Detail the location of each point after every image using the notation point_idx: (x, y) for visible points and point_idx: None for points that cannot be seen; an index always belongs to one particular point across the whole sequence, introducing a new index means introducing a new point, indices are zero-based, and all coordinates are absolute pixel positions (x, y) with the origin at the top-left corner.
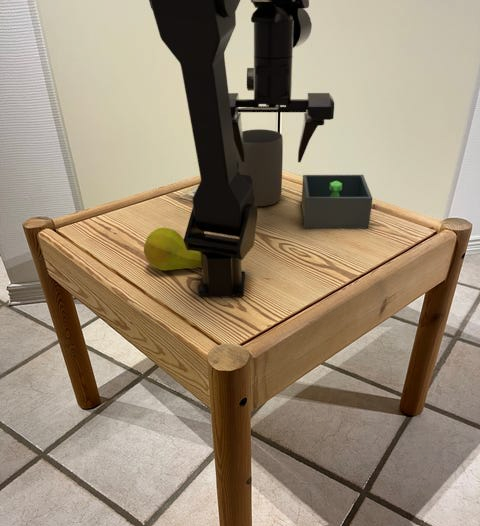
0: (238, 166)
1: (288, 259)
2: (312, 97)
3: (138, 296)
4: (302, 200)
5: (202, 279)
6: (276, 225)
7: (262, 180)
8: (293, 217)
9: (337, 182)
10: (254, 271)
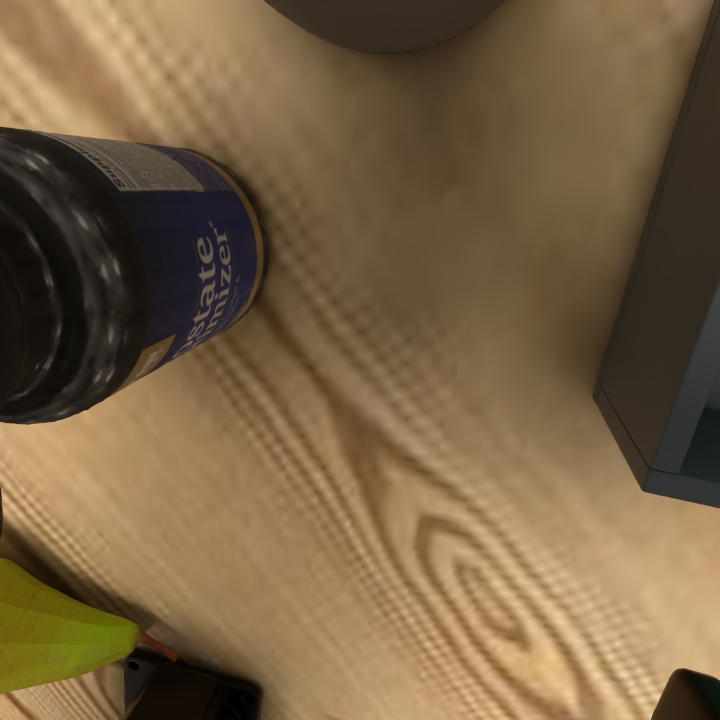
0: (8, 335)
1: (433, 638)
2: None
3: None
4: (708, 85)
5: (129, 696)
6: (445, 333)
7: (365, 7)
8: (573, 243)
9: None
10: (296, 673)
